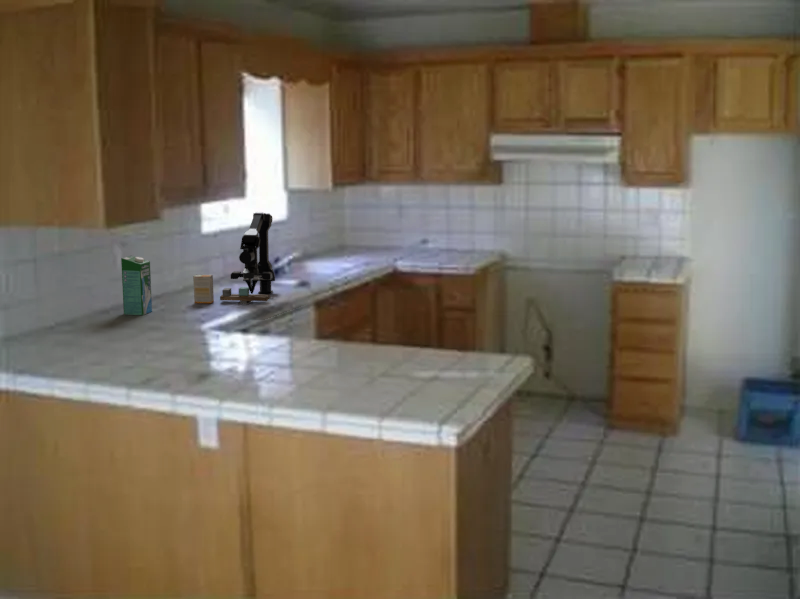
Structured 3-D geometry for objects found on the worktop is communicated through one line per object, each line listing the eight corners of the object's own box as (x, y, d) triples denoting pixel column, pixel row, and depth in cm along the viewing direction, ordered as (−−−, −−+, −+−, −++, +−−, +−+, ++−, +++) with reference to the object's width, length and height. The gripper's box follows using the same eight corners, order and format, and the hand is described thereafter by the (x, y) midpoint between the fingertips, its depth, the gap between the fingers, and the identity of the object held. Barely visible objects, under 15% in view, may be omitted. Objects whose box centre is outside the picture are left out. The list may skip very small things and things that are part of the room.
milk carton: (142, 315, 402) (140, 258, 397) (123, 314, 404) (120, 258, 399) (152, 311, 411) (149, 255, 406) (133, 310, 412) (131, 255, 408)
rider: (241, 297, 435) (240, 286, 434) (249, 297, 435) (249, 287, 434) (238, 299, 431) (238, 288, 430) (247, 299, 430) (247, 288, 429)
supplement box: (214, 302, 434) (213, 274, 431) (211, 303, 429) (210, 276, 427) (197, 301, 435) (196, 274, 432) (193, 303, 430) (192, 275, 428)
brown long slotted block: (224, 300, 438) (223, 287, 437) (270, 301, 437) (269, 288, 436) (219, 303, 429) (219, 290, 428) (266, 304, 428) (266, 291, 427)
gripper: (227, 263, 422) (228, 296, 425) (268, 263, 421) (268, 297, 424) (232, 259, 433) (233, 292, 436) (272, 260, 432) (272, 292, 435)
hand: (251, 293), depth 432 cm, fingers closed
